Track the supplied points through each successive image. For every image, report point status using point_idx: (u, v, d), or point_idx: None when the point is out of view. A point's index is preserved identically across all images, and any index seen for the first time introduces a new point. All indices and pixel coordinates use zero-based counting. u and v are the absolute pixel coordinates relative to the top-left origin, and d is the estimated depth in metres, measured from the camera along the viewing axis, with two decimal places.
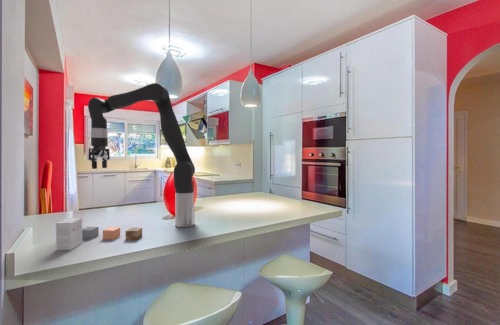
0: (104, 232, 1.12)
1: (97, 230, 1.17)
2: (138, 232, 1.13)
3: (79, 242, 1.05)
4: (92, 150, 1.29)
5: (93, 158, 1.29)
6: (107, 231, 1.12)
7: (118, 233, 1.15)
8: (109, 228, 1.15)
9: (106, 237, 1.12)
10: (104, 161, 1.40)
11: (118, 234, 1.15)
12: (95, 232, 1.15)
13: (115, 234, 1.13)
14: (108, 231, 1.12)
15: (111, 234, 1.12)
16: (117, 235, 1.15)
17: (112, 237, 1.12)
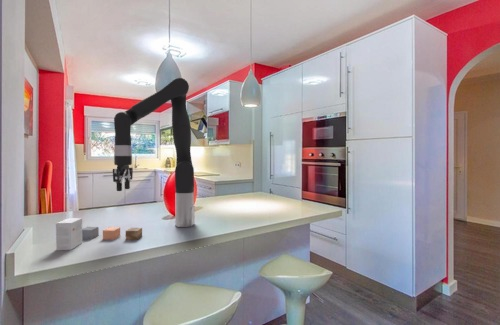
0: (104, 232, 1.12)
1: (97, 230, 1.16)
2: (138, 232, 1.13)
3: (79, 242, 1.05)
4: (116, 171, 1.17)
5: (118, 180, 1.18)
6: (107, 231, 1.12)
7: (118, 233, 1.15)
8: (109, 228, 1.15)
9: (106, 237, 1.12)
10: (127, 181, 1.27)
11: (118, 234, 1.15)
12: (95, 232, 1.15)
13: (115, 234, 1.13)
14: (108, 231, 1.12)
15: (111, 234, 1.12)
16: (117, 235, 1.15)
17: (112, 237, 1.12)
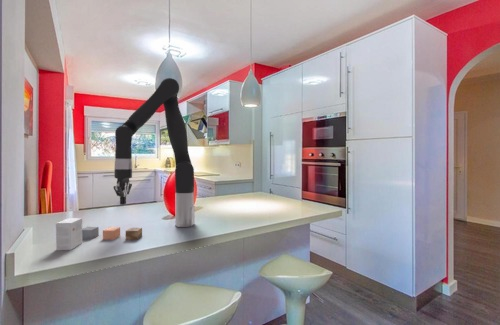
0: (104, 232, 1.12)
1: (97, 230, 1.16)
2: (138, 232, 1.13)
3: (79, 242, 1.05)
4: (118, 189, 1.18)
5: (122, 194, 1.21)
6: (107, 231, 1.12)
7: (118, 233, 1.15)
8: (109, 228, 1.15)
9: (106, 237, 1.12)
10: None
11: (118, 234, 1.15)
12: (95, 232, 1.15)
13: (115, 234, 1.13)
14: (108, 231, 1.12)
15: (111, 234, 1.12)
16: (117, 235, 1.15)
17: (112, 237, 1.12)
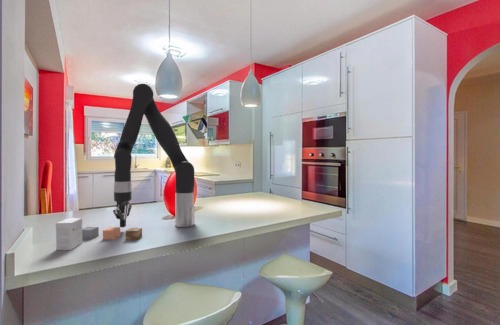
0: (104, 232, 1.12)
1: (97, 230, 1.16)
2: (138, 232, 1.13)
3: (79, 242, 1.05)
4: (117, 213, 1.18)
5: (122, 217, 1.21)
6: (107, 231, 1.12)
7: (118, 233, 1.15)
8: (109, 228, 1.15)
9: (106, 237, 1.12)
10: None
11: (118, 234, 1.16)
12: (95, 232, 1.15)
13: (115, 234, 1.13)
14: (108, 231, 1.12)
15: (111, 234, 1.12)
16: (117, 235, 1.15)
17: (112, 237, 1.12)
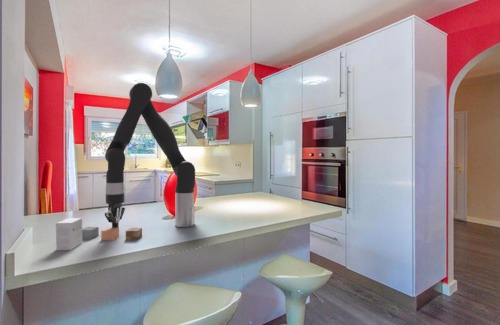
0: (103, 232, 1.11)
1: (97, 230, 1.16)
2: (138, 232, 1.13)
3: (79, 242, 1.05)
4: (109, 216, 1.12)
5: (114, 220, 1.15)
6: (106, 231, 1.11)
7: (117, 233, 1.14)
8: (108, 228, 1.14)
9: (105, 237, 1.11)
10: None
11: (117, 234, 1.15)
12: (95, 232, 1.15)
13: (113, 235, 1.12)
14: (107, 231, 1.11)
15: (110, 235, 1.11)
16: (116, 235, 1.14)
17: (111, 237, 1.11)
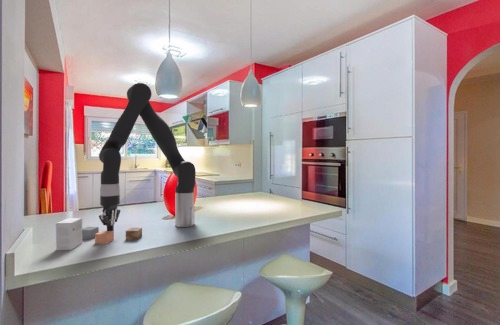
0: (96, 236, 1.07)
1: (97, 230, 1.16)
2: (138, 232, 1.13)
3: (79, 242, 1.05)
4: (104, 218, 1.08)
5: (109, 223, 1.10)
6: (99, 235, 1.07)
7: (111, 237, 1.10)
8: (102, 232, 1.10)
9: (98, 241, 1.07)
10: None
11: (111, 238, 1.10)
12: (95, 232, 1.15)
13: (107, 238, 1.07)
14: (101, 235, 1.07)
15: (104, 238, 1.07)
16: (110, 239, 1.09)
17: (105, 241, 1.07)
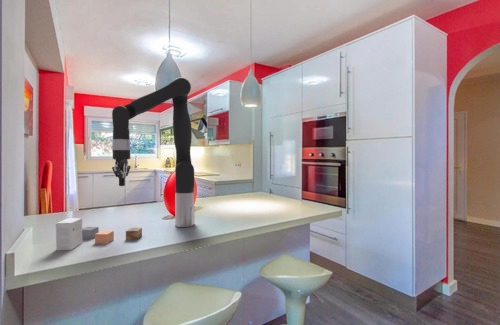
0: (96, 236, 1.07)
1: (97, 230, 1.16)
2: (138, 232, 1.13)
3: (79, 242, 1.05)
4: (117, 169, 1.17)
5: (121, 175, 1.20)
6: (99, 235, 1.07)
7: (111, 237, 1.10)
8: (102, 232, 1.10)
9: (98, 241, 1.07)
10: None
11: (111, 238, 1.10)
12: (95, 232, 1.15)
13: (107, 238, 1.07)
14: (101, 235, 1.07)
15: (104, 238, 1.07)
16: (110, 239, 1.09)
17: (105, 241, 1.07)
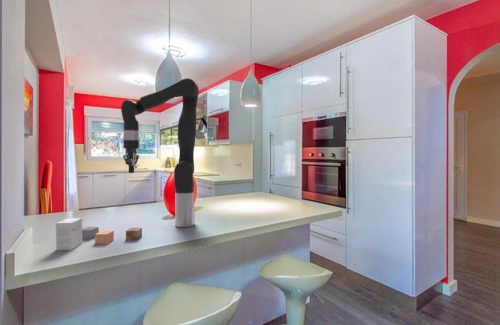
0: (96, 236, 1.07)
1: (97, 230, 1.16)
2: (138, 232, 1.13)
3: (79, 242, 1.05)
4: (127, 157, 1.30)
5: (130, 163, 1.33)
6: (99, 235, 1.07)
7: (111, 237, 1.10)
8: (102, 232, 1.10)
9: (98, 241, 1.07)
10: None
11: (111, 238, 1.10)
12: (95, 232, 1.15)
13: (108, 238, 1.07)
14: (101, 235, 1.07)
15: (104, 238, 1.07)
16: (110, 239, 1.09)
17: (105, 241, 1.07)
